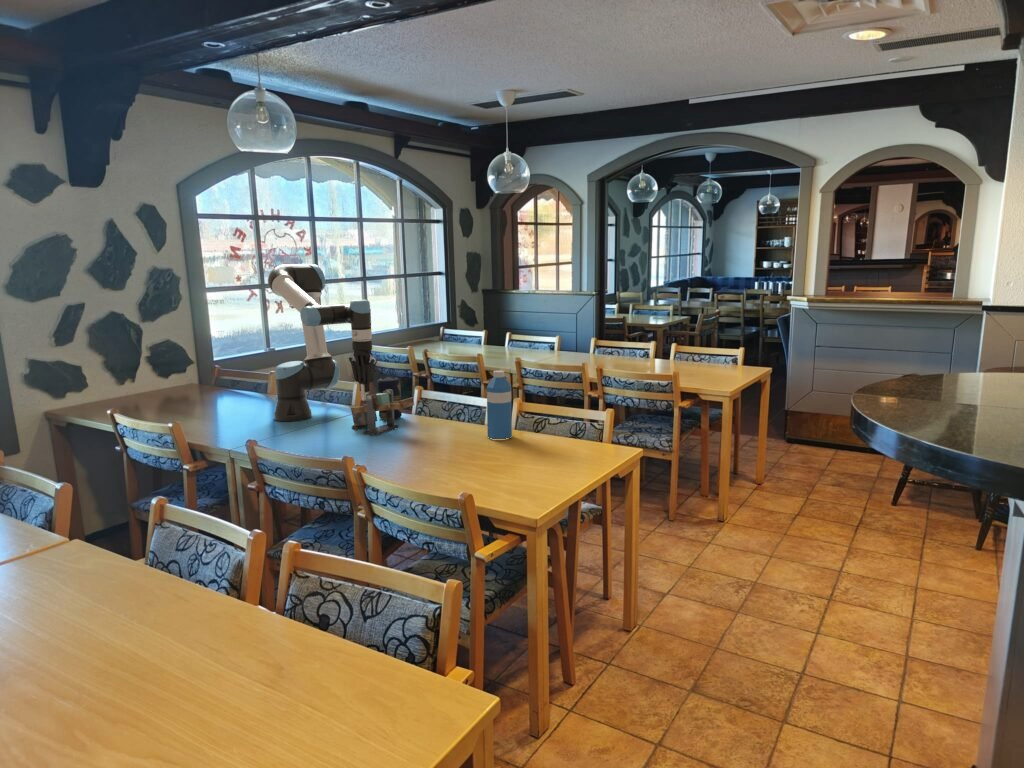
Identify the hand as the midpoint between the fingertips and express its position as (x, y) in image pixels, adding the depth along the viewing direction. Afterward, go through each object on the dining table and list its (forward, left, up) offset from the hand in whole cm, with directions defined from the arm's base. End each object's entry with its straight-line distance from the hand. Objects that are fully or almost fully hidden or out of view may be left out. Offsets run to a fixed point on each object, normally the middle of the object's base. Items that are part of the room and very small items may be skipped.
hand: (365, 399), depth 266 cm
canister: (-2, +17, -12) cm, 21 cm away
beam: (+10, 0, -8) cm, 12 cm away
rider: (+8, 0, -2) cm, 8 cm away
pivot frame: (+8, 0, -12) cm, 14 cm away
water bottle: (+54, +13, -12) cm, 57 cm away
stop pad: (-3, 0, -12) cm, 12 cm away
